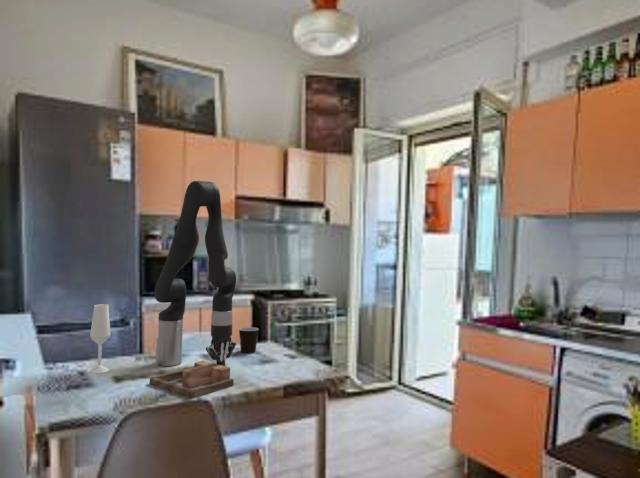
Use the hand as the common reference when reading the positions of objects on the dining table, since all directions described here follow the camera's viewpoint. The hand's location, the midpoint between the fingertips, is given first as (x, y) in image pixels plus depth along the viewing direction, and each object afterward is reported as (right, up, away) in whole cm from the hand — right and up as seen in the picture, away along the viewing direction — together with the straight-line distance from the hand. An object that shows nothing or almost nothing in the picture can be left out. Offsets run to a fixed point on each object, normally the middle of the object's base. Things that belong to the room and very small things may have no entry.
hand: (220, 370), depth 166 cm
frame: (-7, -2, -9) cm, 12 cm away
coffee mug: (+4, -3, +40) cm, 40 cm away
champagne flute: (-45, -1, +3) cm, 45 cm away
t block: (-5, -2, -7) cm, 9 cm away
